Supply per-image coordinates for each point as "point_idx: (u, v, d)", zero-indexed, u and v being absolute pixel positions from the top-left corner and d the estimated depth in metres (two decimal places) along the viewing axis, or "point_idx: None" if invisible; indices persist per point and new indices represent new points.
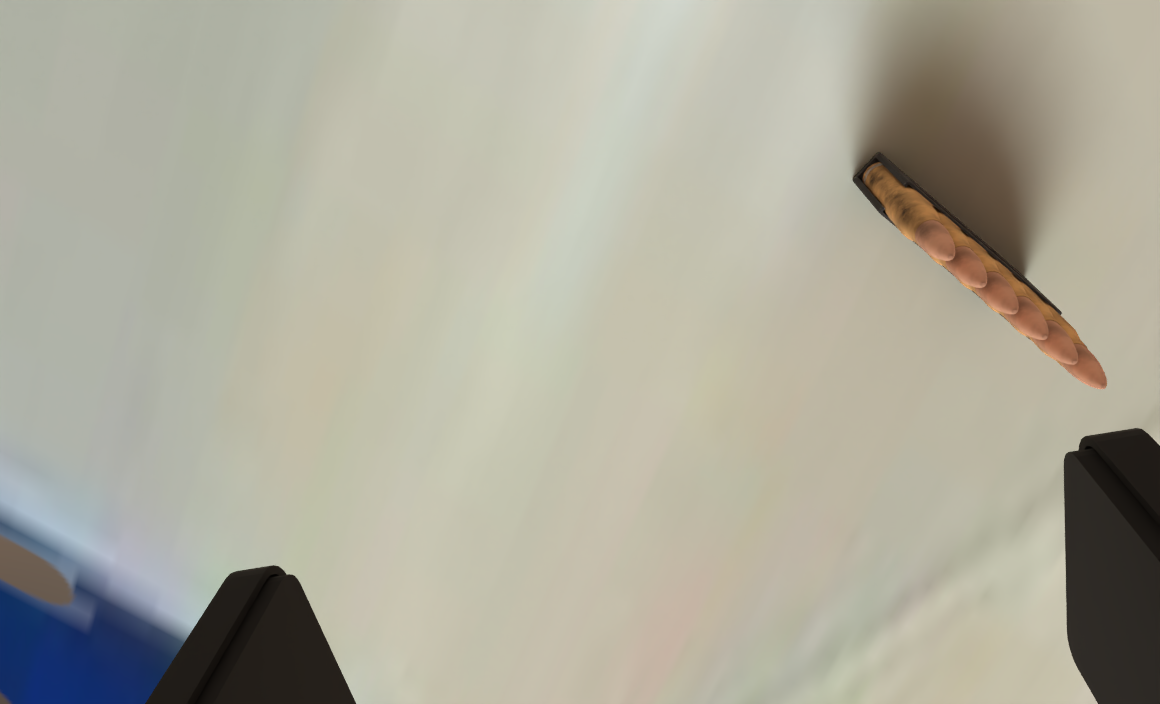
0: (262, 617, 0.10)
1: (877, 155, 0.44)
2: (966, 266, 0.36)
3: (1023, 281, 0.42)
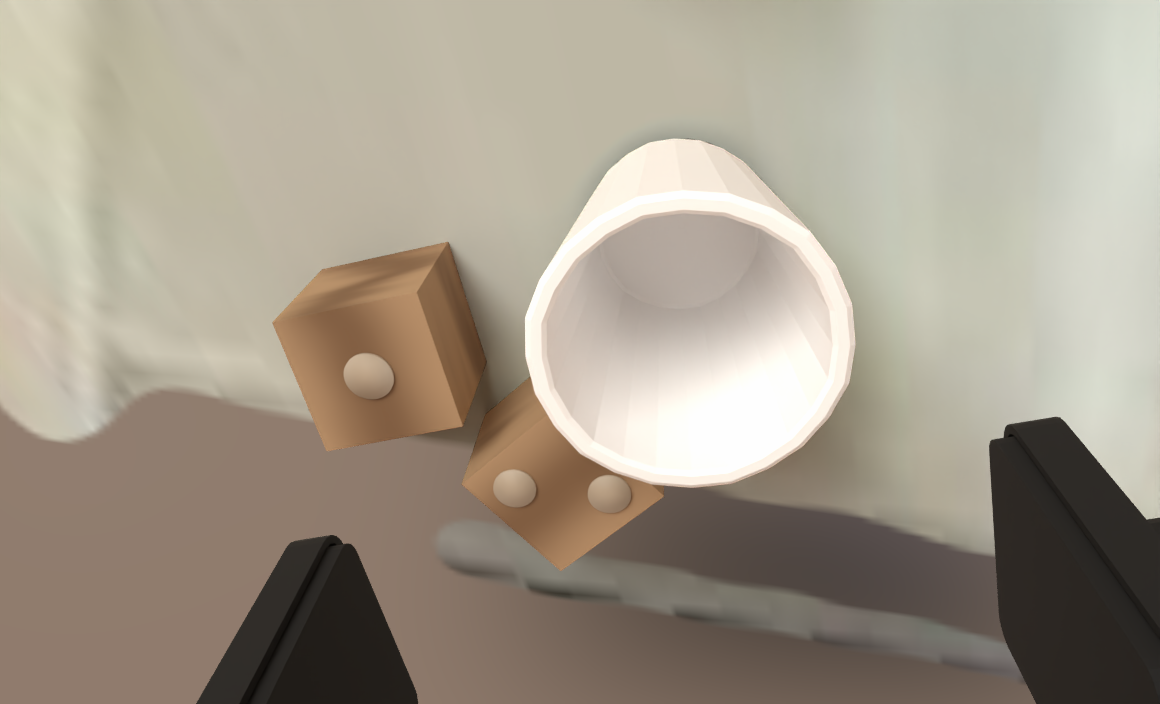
0: (325, 583, 0.10)
1: None
2: None
3: None
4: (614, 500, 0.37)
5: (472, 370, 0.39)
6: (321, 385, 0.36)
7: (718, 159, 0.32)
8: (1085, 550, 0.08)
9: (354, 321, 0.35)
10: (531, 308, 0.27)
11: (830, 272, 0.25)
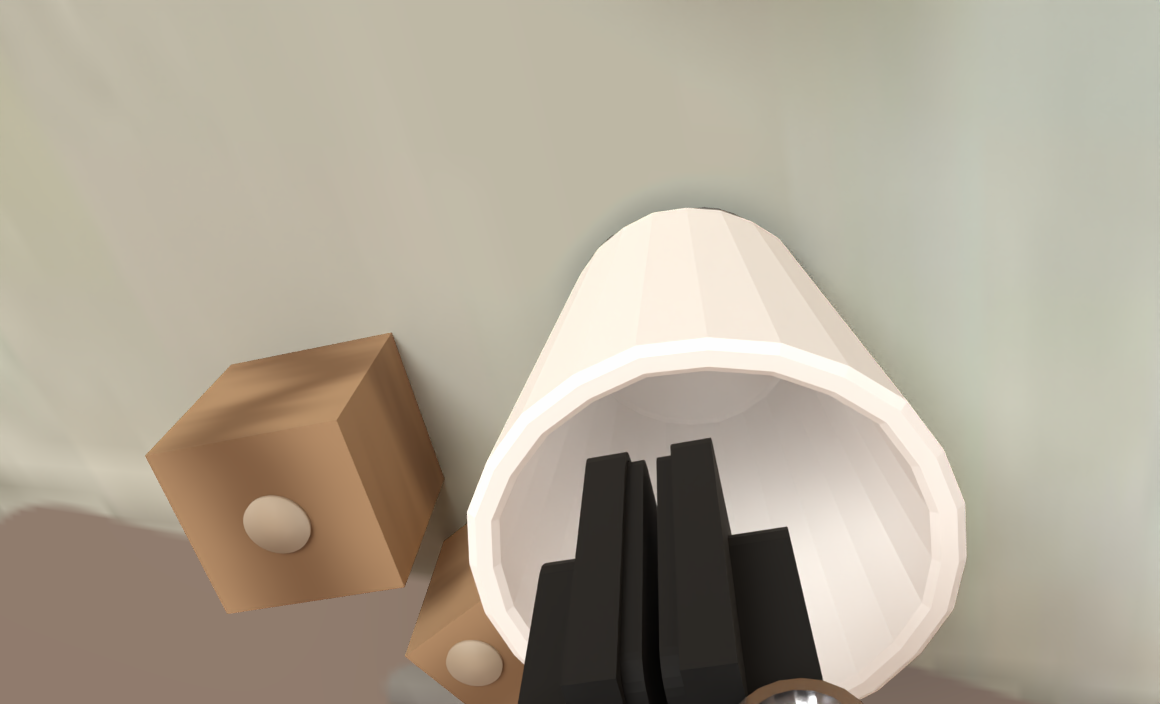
0: (640, 494, 0.11)
1: None
2: None
3: None
4: None
5: (422, 499, 0.30)
6: (215, 534, 0.27)
7: (750, 250, 0.23)
8: (669, 556, 0.09)
9: (254, 456, 0.26)
10: (476, 499, 0.18)
11: (935, 460, 0.16)
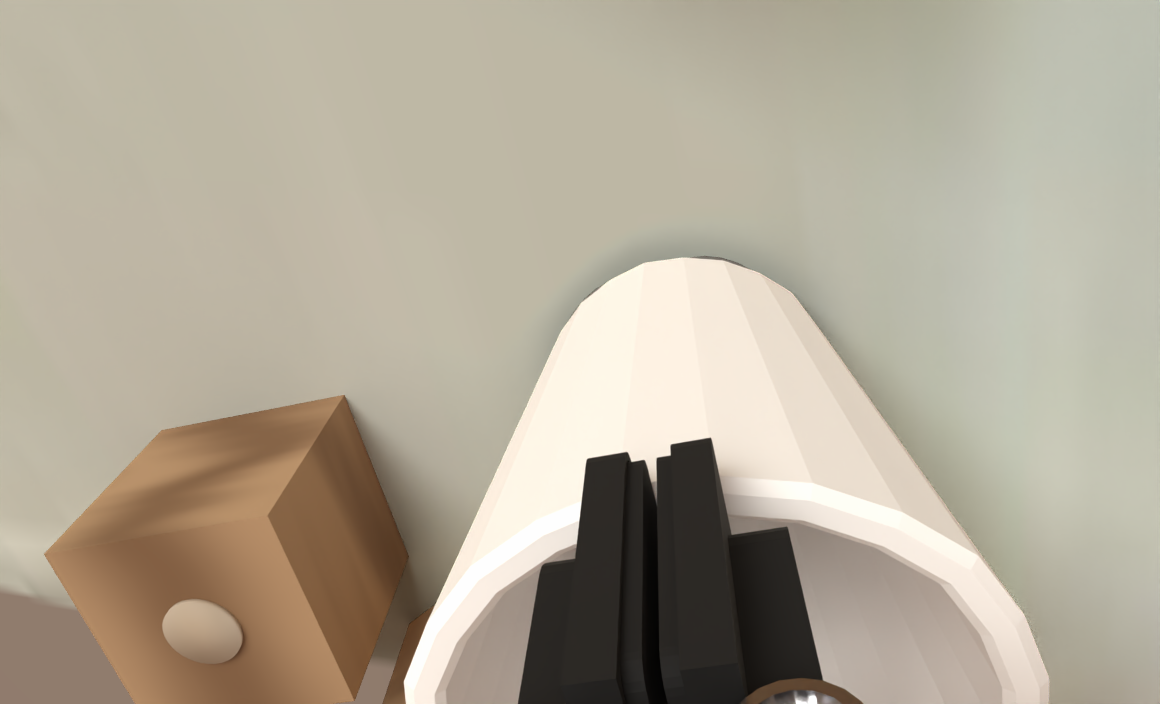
0: (640, 494, 0.11)
1: None
2: None
3: None
4: None
5: (380, 587, 0.26)
6: (131, 641, 0.23)
7: (761, 319, 0.19)
8: (669, 556, 0.09)
9: (172, 555, 0.22)
10: (414, 668, 0.14)
11: (1014, 629, 0.12)
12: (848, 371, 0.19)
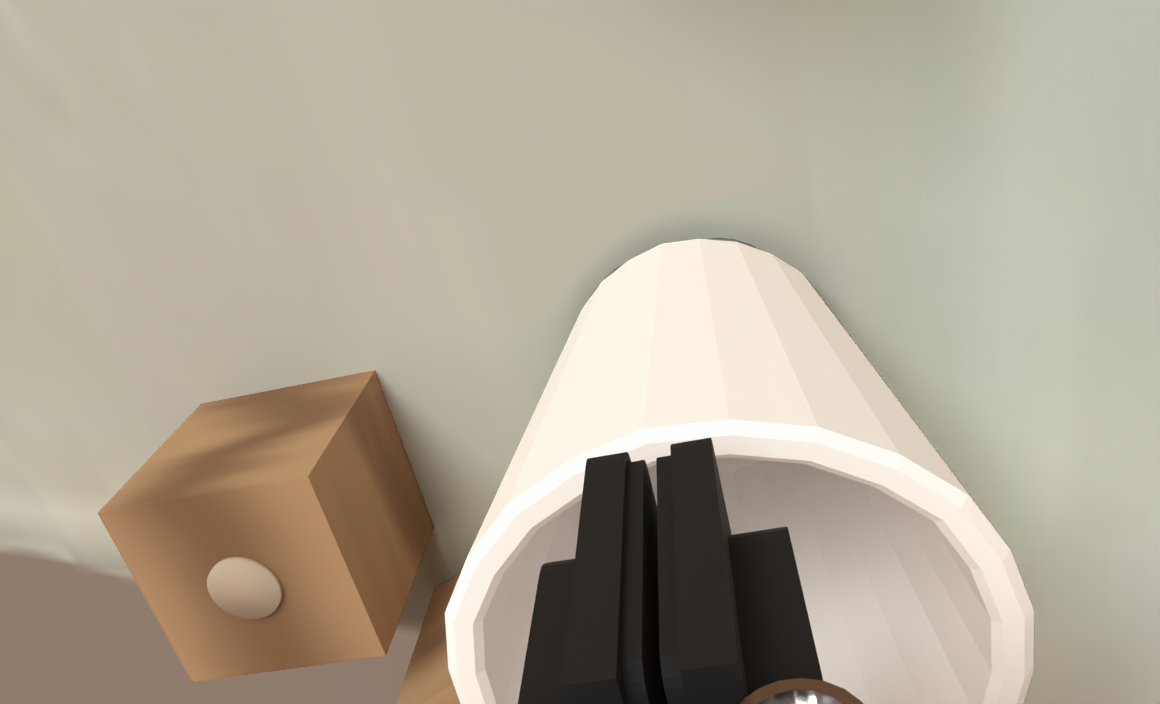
0: (640, 494, 0.11)
1: None
2: None
3: None
4: None
5: (408, 553, 0.28)
6: (177, 597, 0.24)
7: (772, 293, 0.20)
8: (669, 556, 0.09)
9: (217, 514, 0.23)
10: (455, 599, 0.15)
11: (1000, 563, 0.14)
12: None
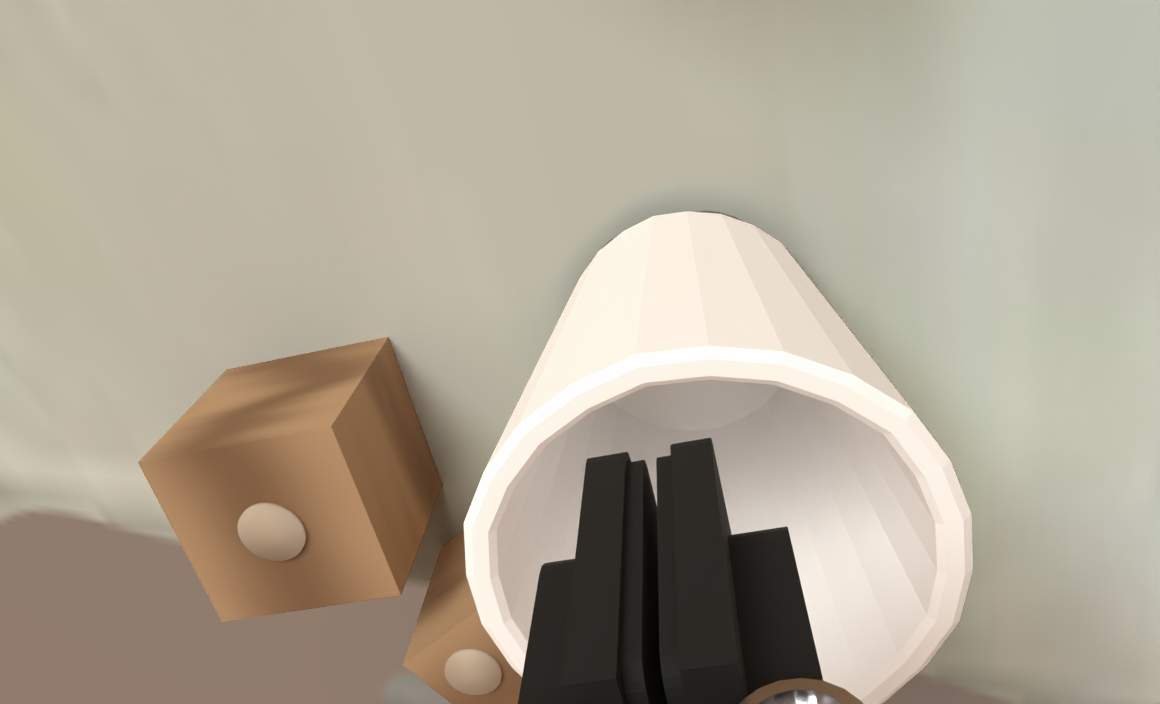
0: (640, 493, 0.11)
1: None
2: None
3: None
4: None
5: (419, 506, 0.30)
6: (209, 541, 0.27)
7: (752, 254, 0.22)
8: (669, 556, 0.09)
9: (248, 462, 0.25)
10: (472, 510, 0.17)
11: (941, 471, 0.16)
12: None
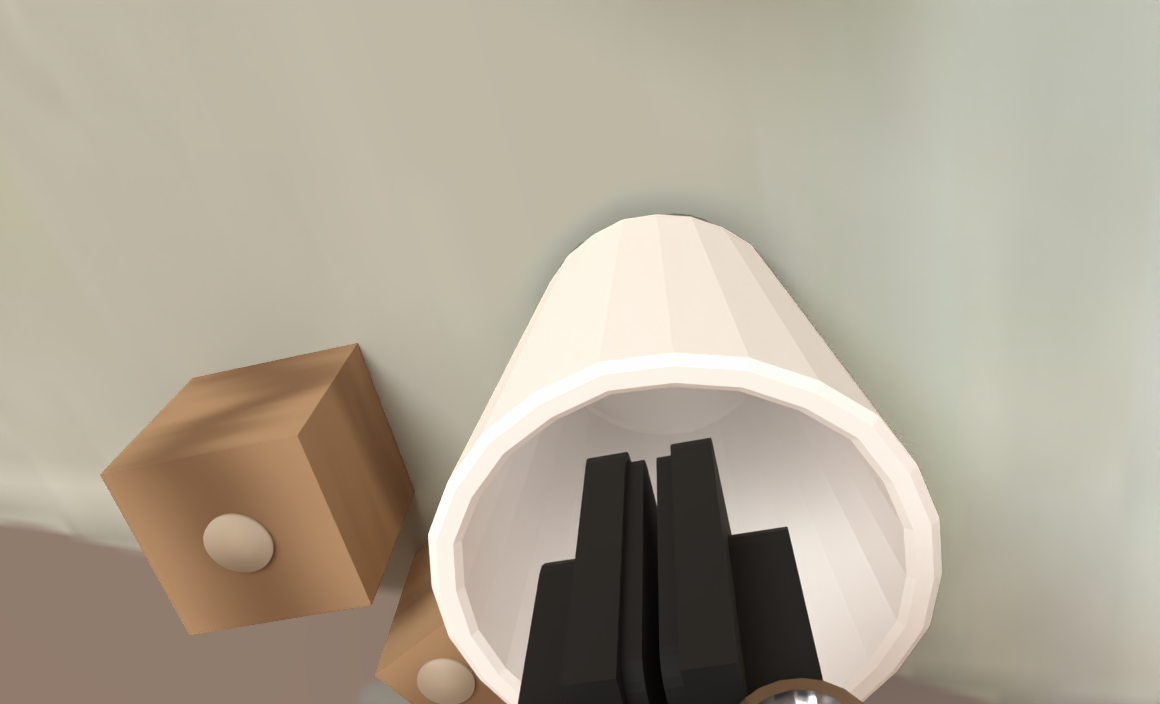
0: (640, 494, 0.11)
1: None
2: None
3: None
4: None
5: (391, 514, 0.30)
6: (175, 554, 0.26)
7: (720, 258, 0.22)
8: (669, 556, 0.09)
9: (213, 473, 0.25)
10: (437, 521, 0.17)
11: (908, 476, 0.16)
12: (793, 301, 0.22)
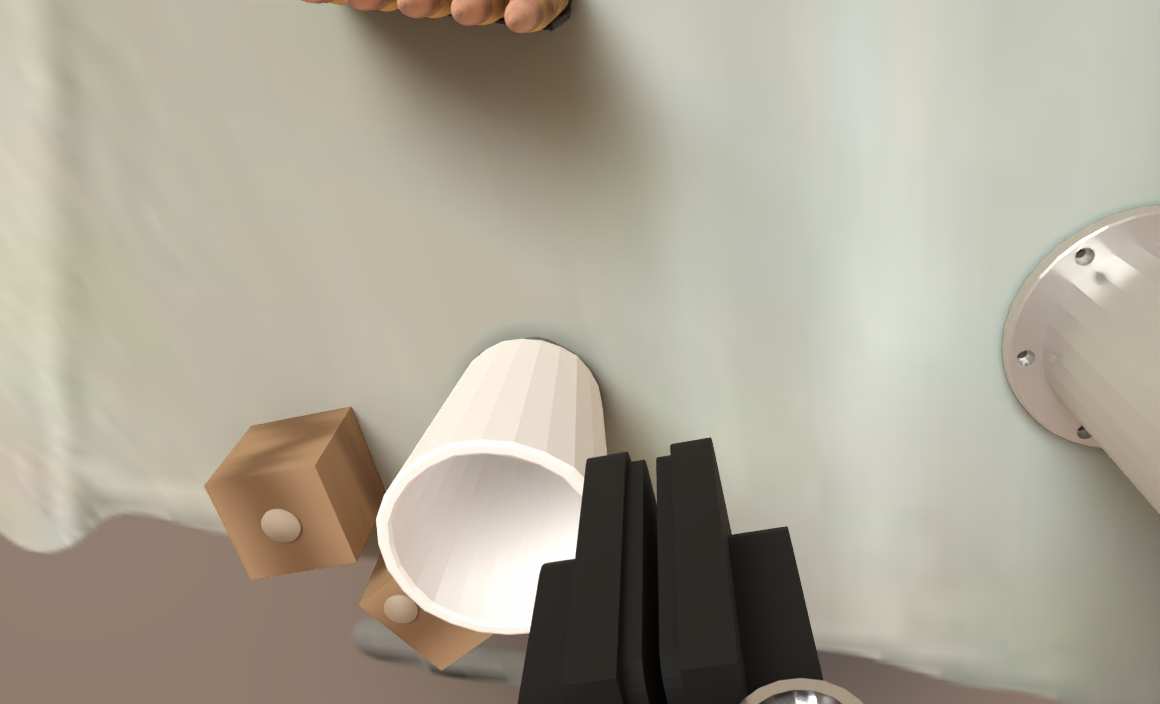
0: (640, 493, 0.11)
1: (569, 15, 0.39)
2: (478, 13, 0.29)
3: None
4: None
5: (370, 509, 0.49)
6: (244, 531, 0.46)
7: (540, 375, 0.41)
8: (669, 556, 0.09)
9: (267, 485, 0.44)
10: (379, 513, 0.36)
11: None
12: (579, 398, 0.41)
